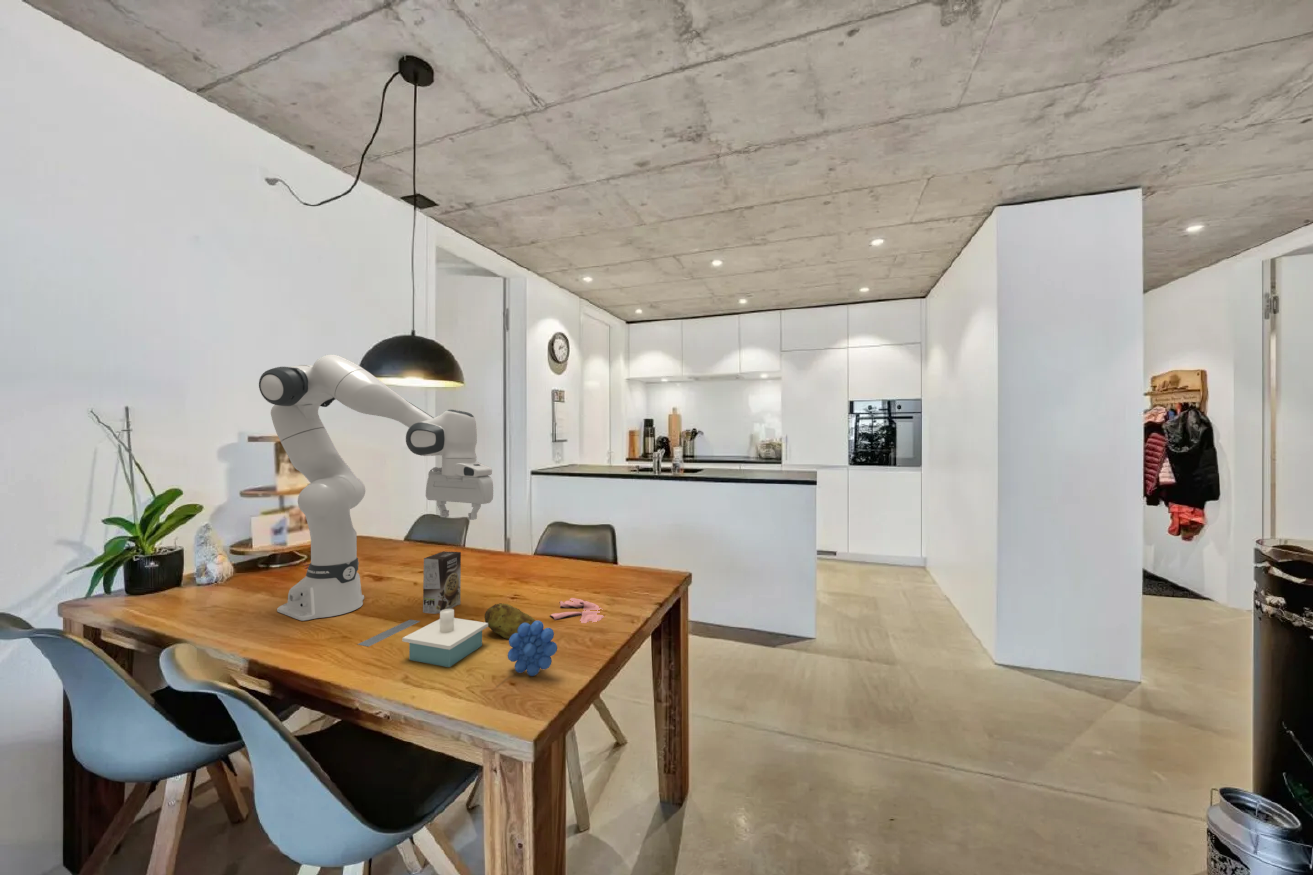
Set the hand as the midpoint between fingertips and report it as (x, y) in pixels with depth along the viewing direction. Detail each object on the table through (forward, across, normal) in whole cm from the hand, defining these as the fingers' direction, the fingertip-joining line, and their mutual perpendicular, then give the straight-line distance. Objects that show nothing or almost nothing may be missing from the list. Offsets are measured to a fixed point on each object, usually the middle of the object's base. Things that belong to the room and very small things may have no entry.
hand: (458, 518), depth 129 cm
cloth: (+29, +27, +17) cm, 43 cm away
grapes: (+28, +36, -18) cm, 49 cm away
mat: (+29, -4, -12) cm, 31 cm away
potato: (+28, +20, -4) cm, 35 cm away
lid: (+24, +12, -17) cm, 32 cm away
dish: (+28, +12, -17) cm, 36 cm away
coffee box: (+29, -10, +6) cm, 31 cm away
